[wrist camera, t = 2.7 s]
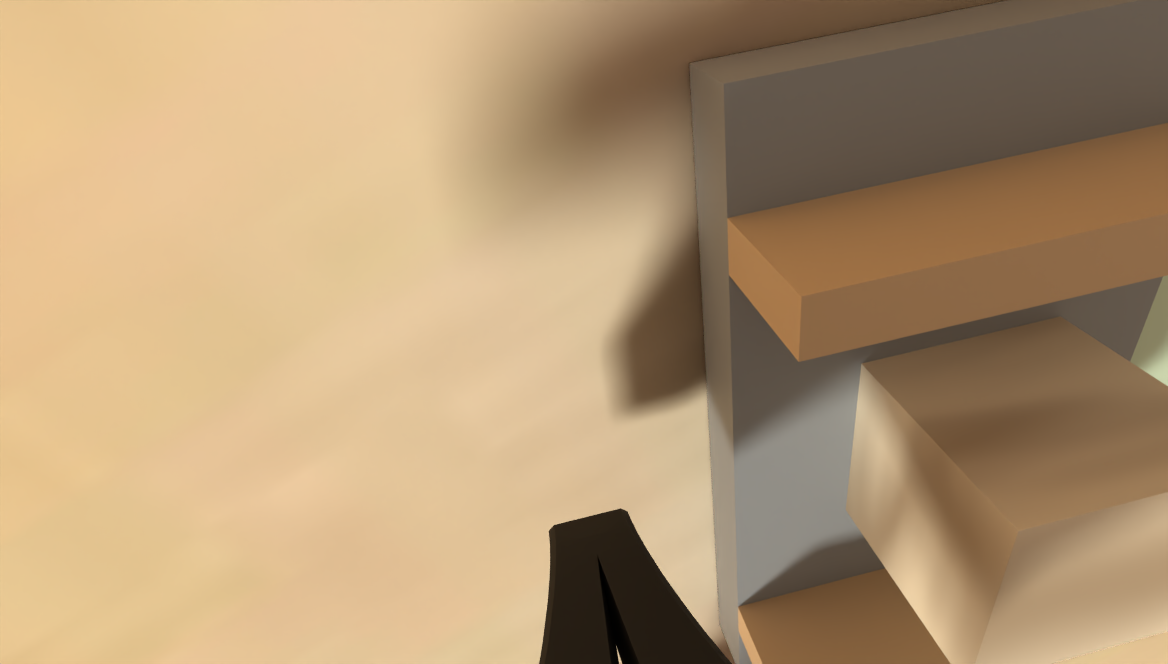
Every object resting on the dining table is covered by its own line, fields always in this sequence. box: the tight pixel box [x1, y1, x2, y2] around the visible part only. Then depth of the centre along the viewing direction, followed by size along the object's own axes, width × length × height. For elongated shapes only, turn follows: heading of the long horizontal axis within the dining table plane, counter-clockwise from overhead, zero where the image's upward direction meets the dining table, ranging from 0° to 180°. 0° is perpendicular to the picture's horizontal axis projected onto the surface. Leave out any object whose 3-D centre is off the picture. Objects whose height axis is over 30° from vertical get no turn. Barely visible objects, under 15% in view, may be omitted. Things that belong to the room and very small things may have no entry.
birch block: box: [846, 317, 1168, 664], centre depth 12 cm, size 4×4×4 cm
